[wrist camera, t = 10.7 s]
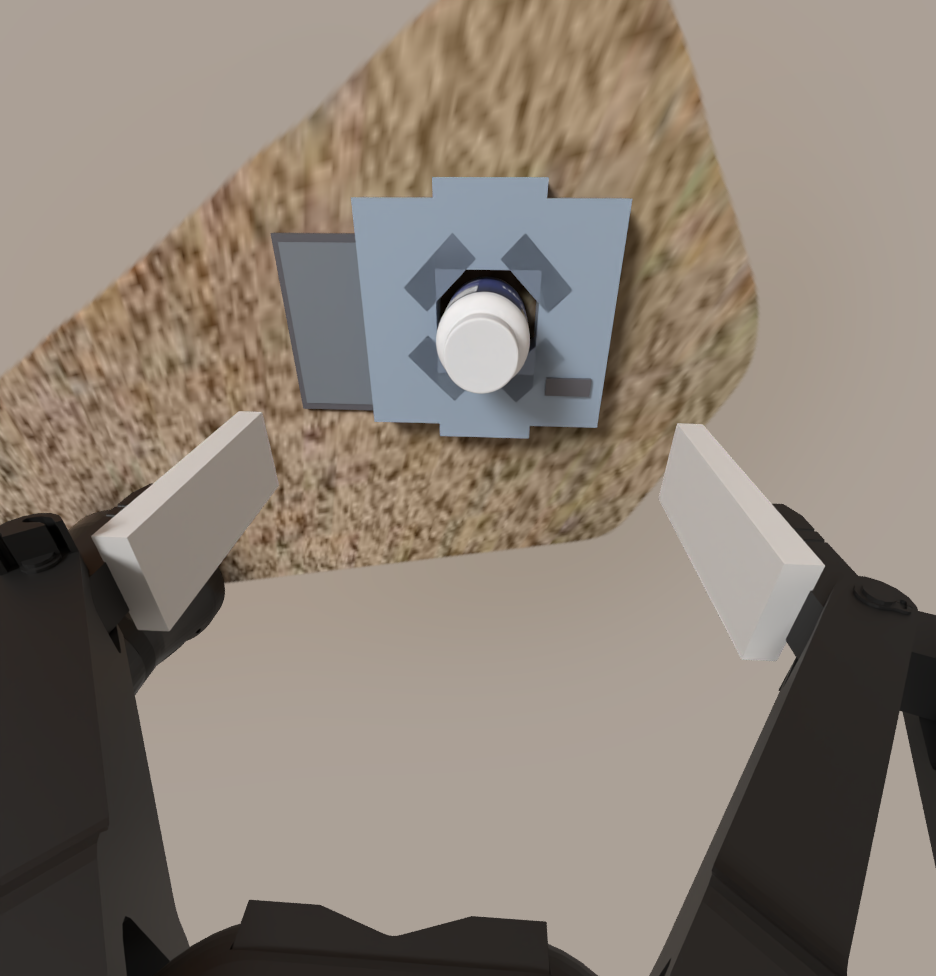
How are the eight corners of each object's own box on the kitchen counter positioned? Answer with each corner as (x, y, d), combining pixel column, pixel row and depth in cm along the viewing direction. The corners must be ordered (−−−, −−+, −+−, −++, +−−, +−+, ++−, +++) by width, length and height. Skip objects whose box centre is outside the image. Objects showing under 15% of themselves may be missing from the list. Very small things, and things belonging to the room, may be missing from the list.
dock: (383, 420, 38) (375, 435, 36) (359, 177, 30) (347, 176, 27) (589, 426, 37) (595, 442, 35) (625, 178, 29) (636, 177, 26)
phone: (383, 405, 38) (380, 410, 37) (308, 403, 38) (303, 408, 37) (366, 232, 32) (362, 234, 31) (276, 232, 32) (270, 233, 31)
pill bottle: (541, 323, 33) (553, 367, 25) (480, 370, 35) (473, 425, 27) (493, 256, 31) (490, 279, 23) (431, 310, 33) (408, 349, 25)
